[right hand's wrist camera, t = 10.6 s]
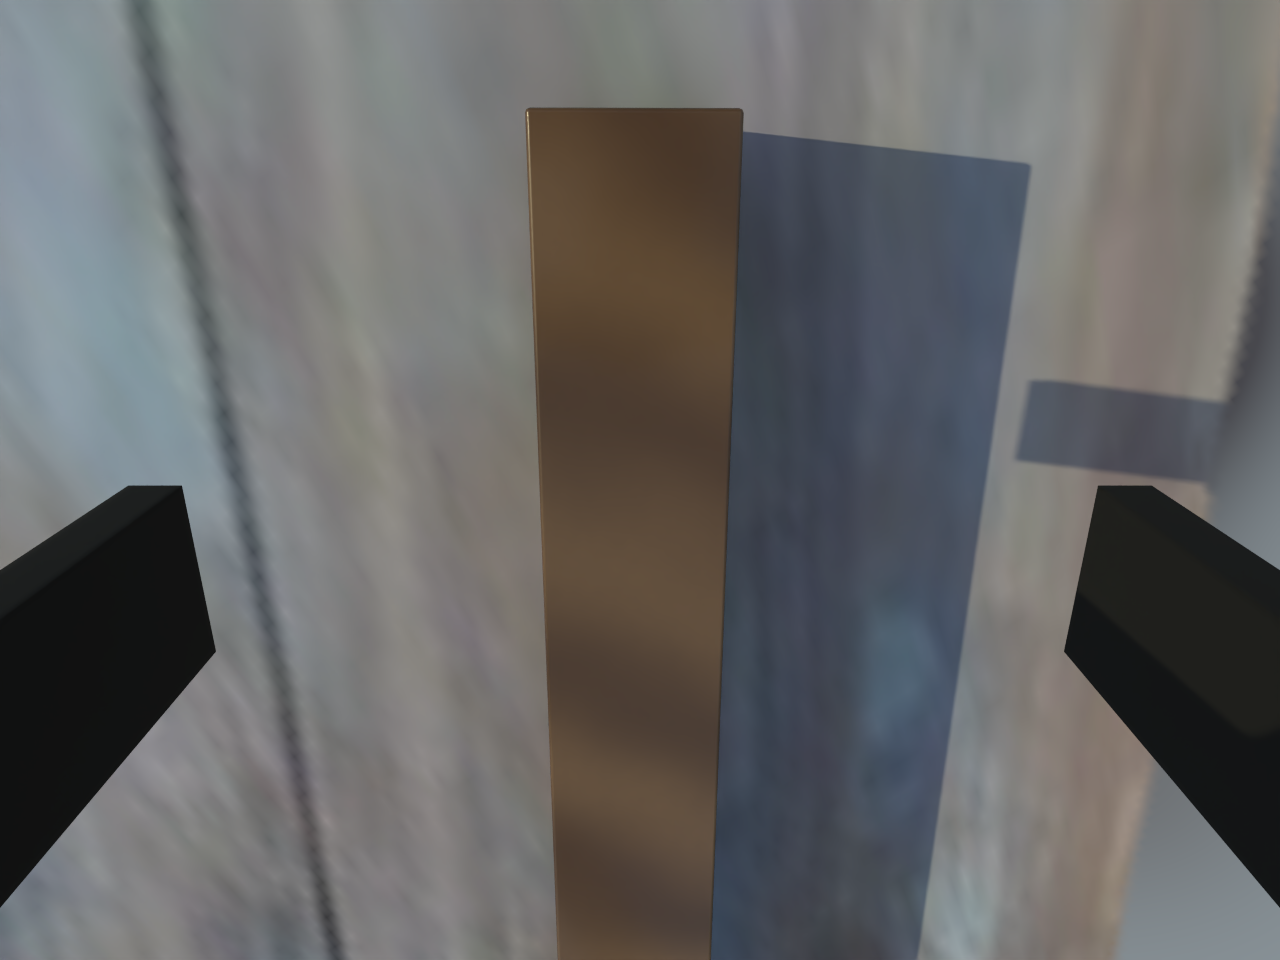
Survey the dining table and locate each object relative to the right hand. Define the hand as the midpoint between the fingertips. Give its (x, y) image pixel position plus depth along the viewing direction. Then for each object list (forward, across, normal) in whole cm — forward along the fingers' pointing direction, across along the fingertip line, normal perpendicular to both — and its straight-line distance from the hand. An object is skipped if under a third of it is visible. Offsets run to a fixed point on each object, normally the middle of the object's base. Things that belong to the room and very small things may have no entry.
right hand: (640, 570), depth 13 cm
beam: (+14, 0, -35) cm, 38 cm away
